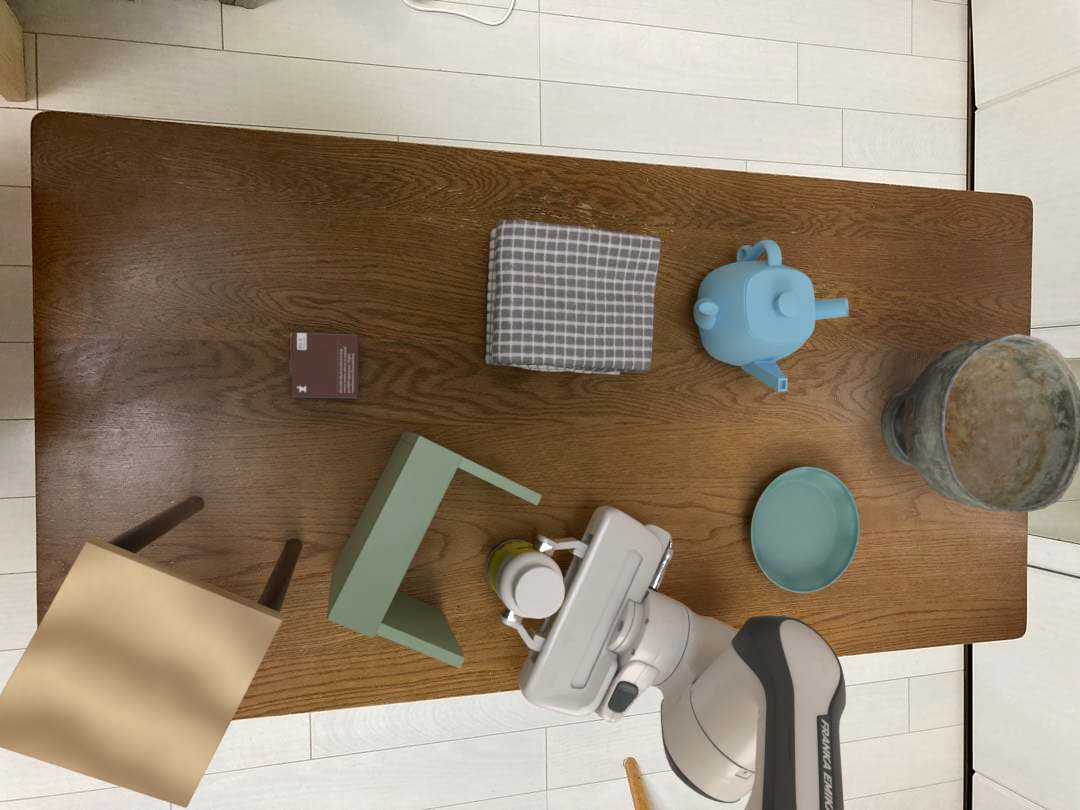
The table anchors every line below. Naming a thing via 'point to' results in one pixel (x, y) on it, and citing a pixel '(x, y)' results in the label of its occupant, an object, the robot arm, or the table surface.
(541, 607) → the pill bottle
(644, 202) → the table surface
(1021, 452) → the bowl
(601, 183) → the table surface
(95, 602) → the stand
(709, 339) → the teapot
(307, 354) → the box
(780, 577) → the saucer
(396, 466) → the cubby
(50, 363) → the table surface
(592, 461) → the table surface
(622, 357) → the towel
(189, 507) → the stand legs
